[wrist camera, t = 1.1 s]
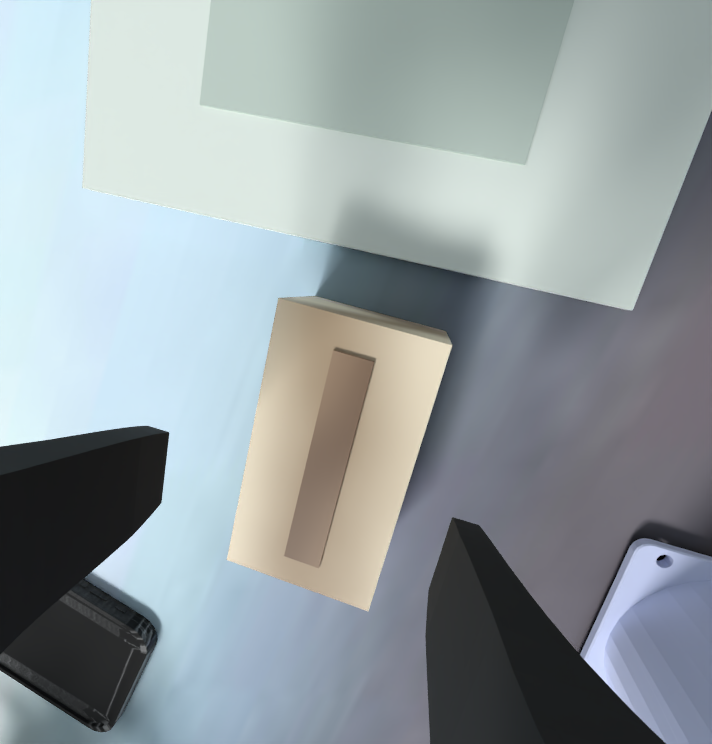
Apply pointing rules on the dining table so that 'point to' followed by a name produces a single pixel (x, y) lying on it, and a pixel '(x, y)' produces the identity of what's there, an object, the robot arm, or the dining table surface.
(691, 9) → the mat
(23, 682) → the phone
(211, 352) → the dining table surface
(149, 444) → the robot arm
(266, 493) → the card box
